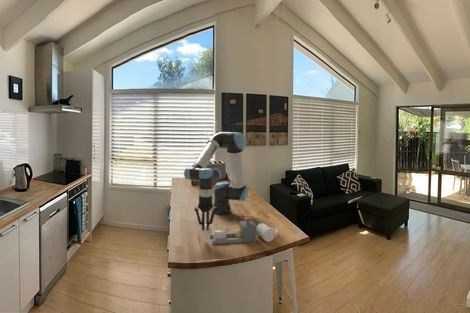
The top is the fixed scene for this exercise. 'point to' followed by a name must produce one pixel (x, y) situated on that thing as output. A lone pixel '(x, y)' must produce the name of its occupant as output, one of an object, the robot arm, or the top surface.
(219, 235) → the fitting
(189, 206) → the top surface
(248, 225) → the valve rig
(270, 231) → the mug
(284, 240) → the top surface
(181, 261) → the top surface
